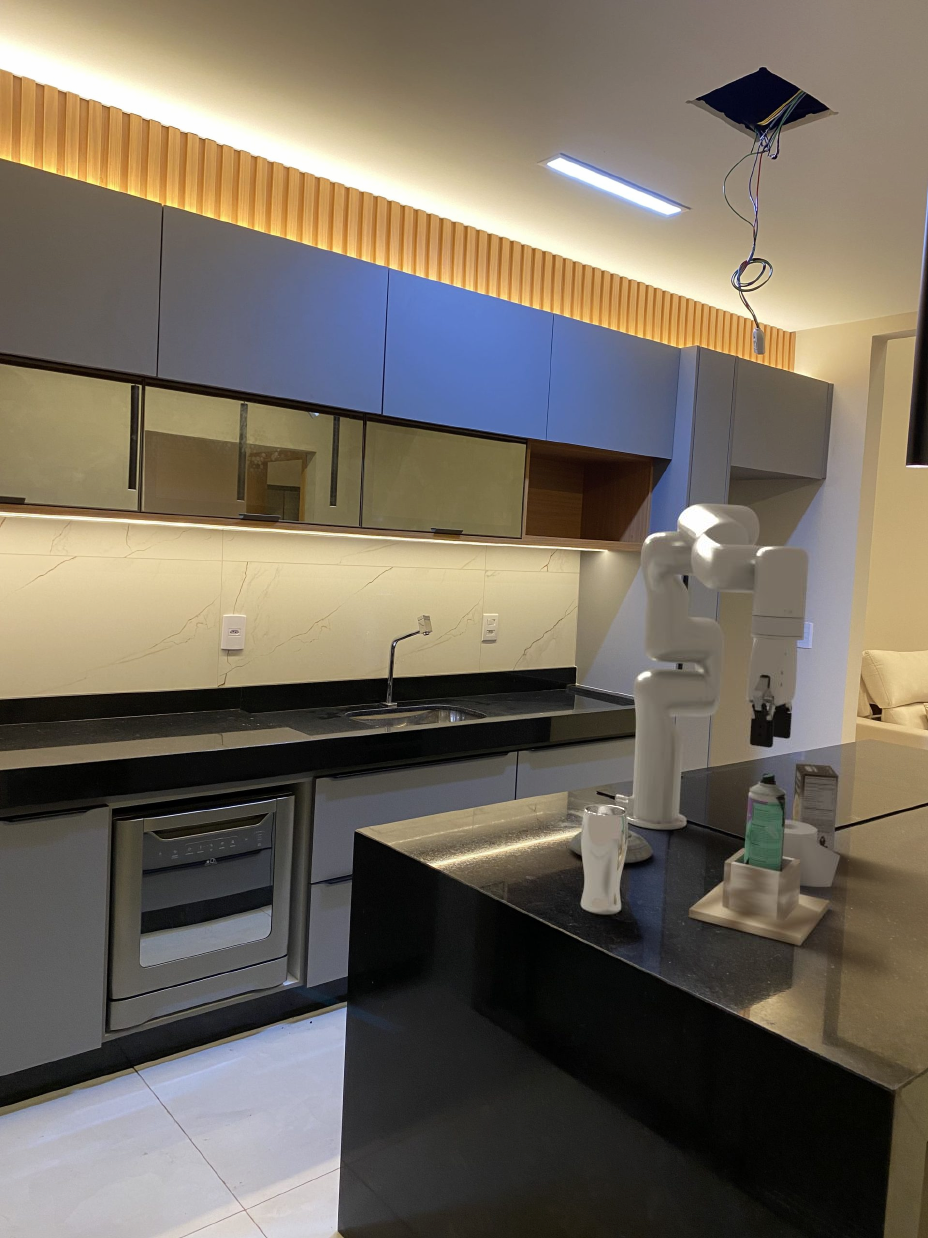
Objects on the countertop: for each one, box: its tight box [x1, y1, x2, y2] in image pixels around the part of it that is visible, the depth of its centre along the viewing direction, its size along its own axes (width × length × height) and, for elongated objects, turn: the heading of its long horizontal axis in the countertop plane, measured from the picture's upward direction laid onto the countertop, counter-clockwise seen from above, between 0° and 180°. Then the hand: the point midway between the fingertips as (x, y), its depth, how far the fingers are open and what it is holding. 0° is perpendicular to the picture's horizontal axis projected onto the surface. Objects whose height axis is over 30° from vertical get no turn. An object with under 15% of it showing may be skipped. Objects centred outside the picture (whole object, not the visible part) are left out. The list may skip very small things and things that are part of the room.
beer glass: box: [580, 803, 629, 915], centre depth 136 cm, size 7×7×15 cm
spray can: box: [744, 773, 787, 872], centre depth 137 cm, size 6×6×20 cm
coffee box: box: [792, 763, 840, 852], centre depth 168 cm, size 9×6×16 cm
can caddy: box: [688, 847, 830, 946], centre depth 137 cm, size 16×18×8 cm
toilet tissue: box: [783, 818, 841, 888], centre depth 154 cm, size 9×13×9 cm
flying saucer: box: [568, 829, 654, 864], centre depth 163 cm, size 15×15×6 cm
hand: (770, 741), depth 136 cm, fingers open, 9 cm apart
